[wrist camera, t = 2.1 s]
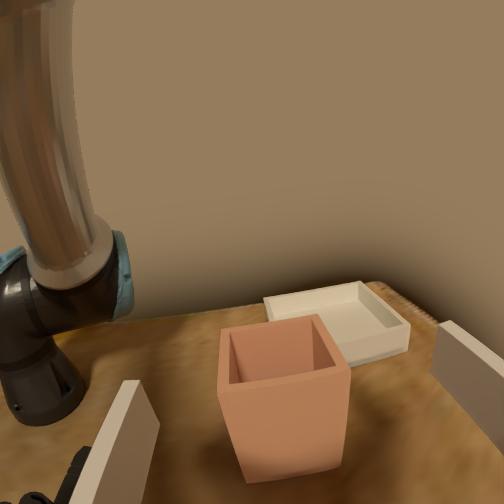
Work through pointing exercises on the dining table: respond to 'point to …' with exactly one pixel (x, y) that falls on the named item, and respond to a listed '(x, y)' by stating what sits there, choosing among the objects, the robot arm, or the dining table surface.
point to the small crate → (284, 397)
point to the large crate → (348, 320)
